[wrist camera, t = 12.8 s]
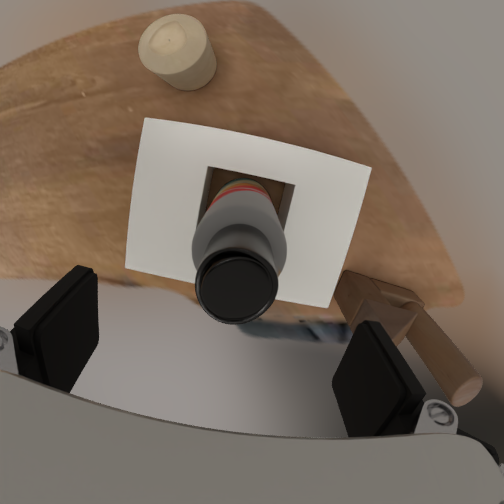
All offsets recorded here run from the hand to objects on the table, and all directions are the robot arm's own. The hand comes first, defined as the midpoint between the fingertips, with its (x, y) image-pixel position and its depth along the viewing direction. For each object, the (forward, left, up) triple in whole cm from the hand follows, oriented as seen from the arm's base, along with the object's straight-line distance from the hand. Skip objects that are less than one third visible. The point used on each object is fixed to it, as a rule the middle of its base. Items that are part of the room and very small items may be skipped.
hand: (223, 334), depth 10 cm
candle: (-8, +13, -24) cm, 28 cm away
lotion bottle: (0, 0, -24) cm, 24 cm away
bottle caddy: (0, 0, -23) cm, 23 cm away
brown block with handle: (+18, -7, -24) cm, 31 cm away
